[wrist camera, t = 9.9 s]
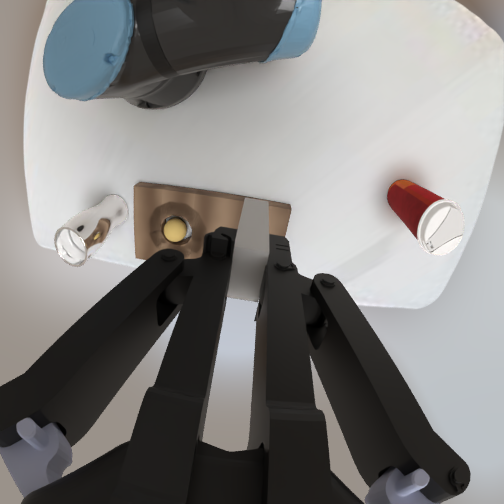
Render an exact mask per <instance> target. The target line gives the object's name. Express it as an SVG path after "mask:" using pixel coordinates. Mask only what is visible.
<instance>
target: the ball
mask: <svg viewBox="0 0 504 504" xmlns="http://www.w3.org/2000/svg"><path fill="white" fill-rule="evenodd" d="M186 232H187V228H186V225H185V223H184V222H183V221H182V220H180V219H177V218H174V219H170V220H169V221H167V223H166V224H165V226H164V234H165V236H166V238H167V239H168V240H170V241H173V242H178V241H180V240H182V239H183V238H184V237H185V235H186Z"/></svg>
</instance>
